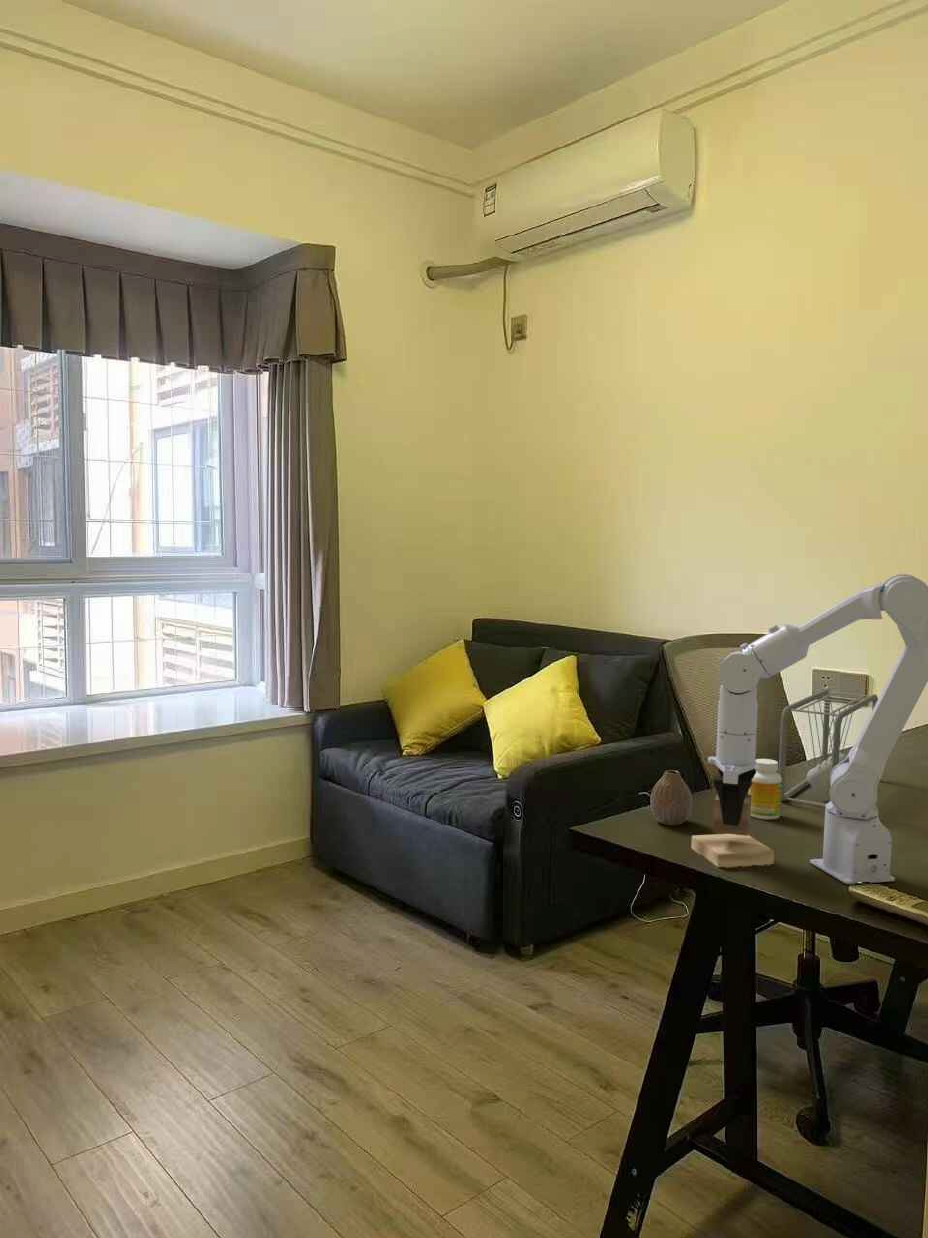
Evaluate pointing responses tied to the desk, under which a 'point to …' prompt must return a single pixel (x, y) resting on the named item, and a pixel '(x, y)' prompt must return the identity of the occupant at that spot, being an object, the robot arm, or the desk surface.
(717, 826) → the walnut cube
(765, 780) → the supplement bottle
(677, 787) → the vase
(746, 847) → the oak block
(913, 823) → the desk surface
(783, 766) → the newton's cradle
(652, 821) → the desk surface
